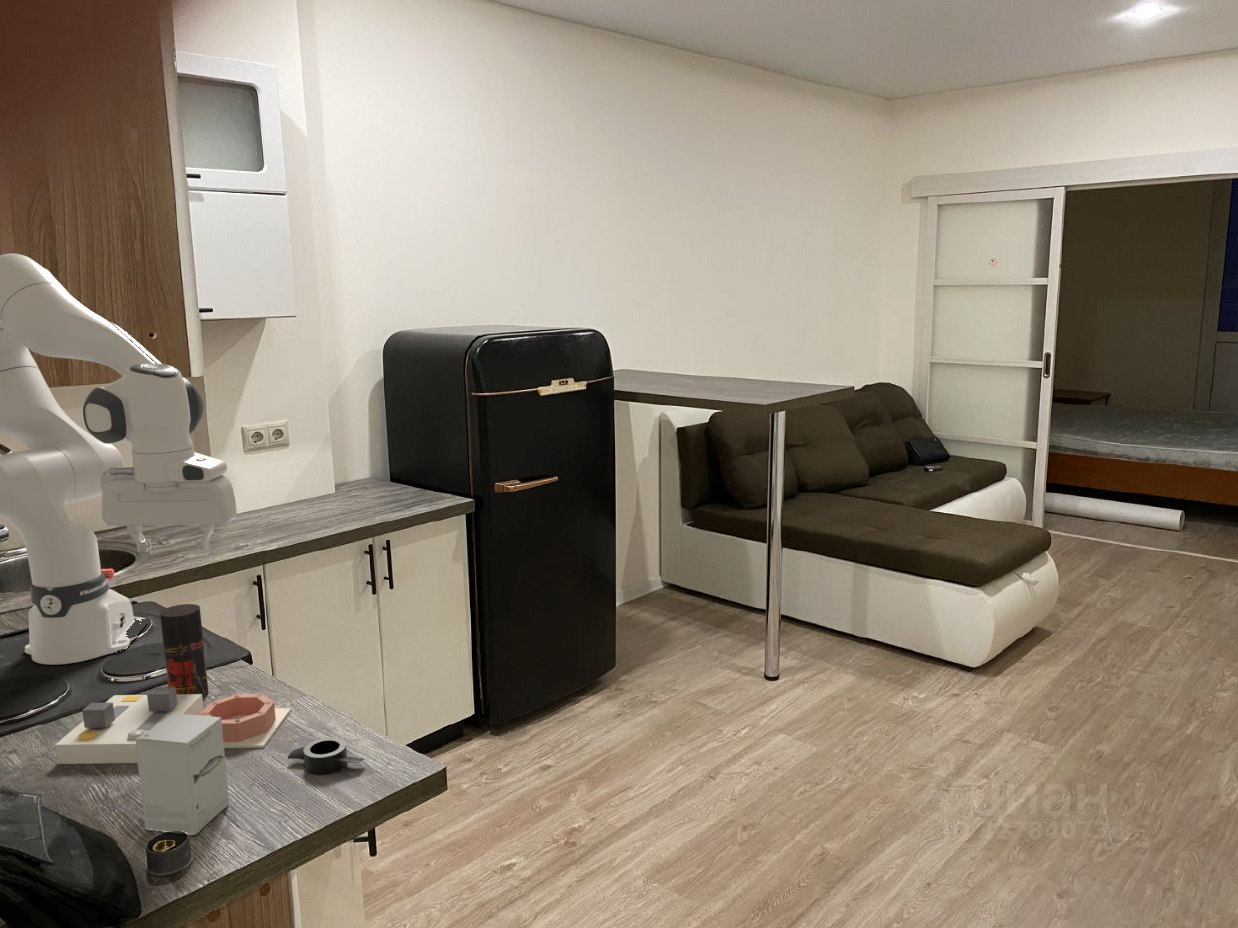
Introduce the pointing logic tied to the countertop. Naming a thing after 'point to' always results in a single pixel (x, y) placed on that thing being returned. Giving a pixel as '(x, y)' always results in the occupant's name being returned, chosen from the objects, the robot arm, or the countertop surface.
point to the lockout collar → (247, 719)
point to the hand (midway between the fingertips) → (173, 550)
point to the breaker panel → (120, 731)
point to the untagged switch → (162, 699)
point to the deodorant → (184, 649)
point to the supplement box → (182, 773)
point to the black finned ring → (324, 756)
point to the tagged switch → (98, 715)
